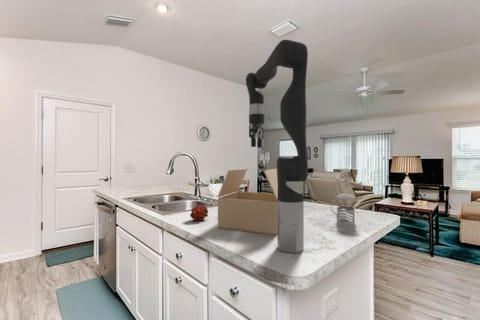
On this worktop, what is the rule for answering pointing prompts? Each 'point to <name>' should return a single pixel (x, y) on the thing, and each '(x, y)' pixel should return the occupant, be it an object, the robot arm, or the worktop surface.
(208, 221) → the worktop surface
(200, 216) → the dragon fruit
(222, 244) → the worktop surface
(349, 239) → the worktop surface
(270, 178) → the flap right
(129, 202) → the worktop surface
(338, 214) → the french press
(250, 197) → the carton
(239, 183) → the flap left
